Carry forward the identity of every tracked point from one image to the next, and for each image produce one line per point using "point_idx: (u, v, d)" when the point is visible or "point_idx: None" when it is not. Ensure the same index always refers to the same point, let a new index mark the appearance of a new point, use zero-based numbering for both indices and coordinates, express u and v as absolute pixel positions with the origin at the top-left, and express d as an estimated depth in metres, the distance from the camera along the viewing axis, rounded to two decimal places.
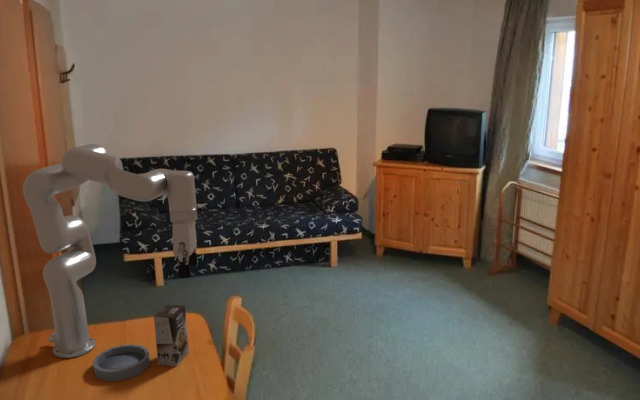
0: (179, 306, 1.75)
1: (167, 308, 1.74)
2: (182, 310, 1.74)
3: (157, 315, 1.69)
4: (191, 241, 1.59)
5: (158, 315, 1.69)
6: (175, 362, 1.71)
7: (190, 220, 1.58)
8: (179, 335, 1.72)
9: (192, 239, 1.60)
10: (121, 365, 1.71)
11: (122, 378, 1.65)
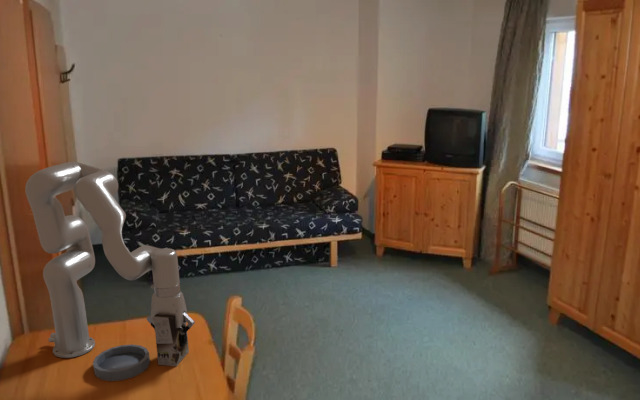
0: None
1: None
2: None
3: (157, 315, 1.69)
4: None
5: (158, 315, 1.69)
6: (175, 362, 1.71)
7: None
8: None
9: None
10: (121, 365, 1.71)
11: (122, 378, 1.65)
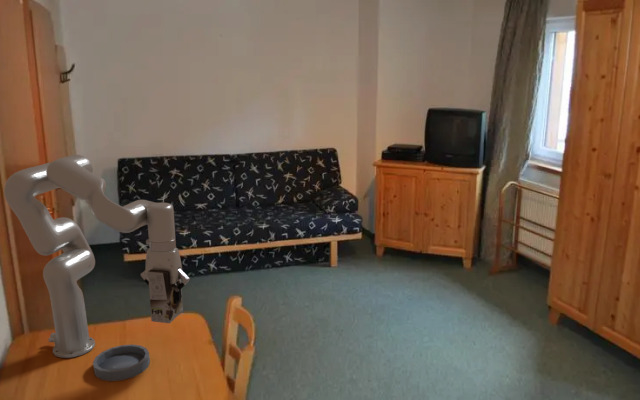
0: None
1: None
2: None
3: (151, 270, 1.66)
4: None
5: (152, 270, 1.66)
6: (169, 319, 1.68)
7: None
8: None
9: None
10: (121, 365, 1.71)
11: (122, 378, 1.65)
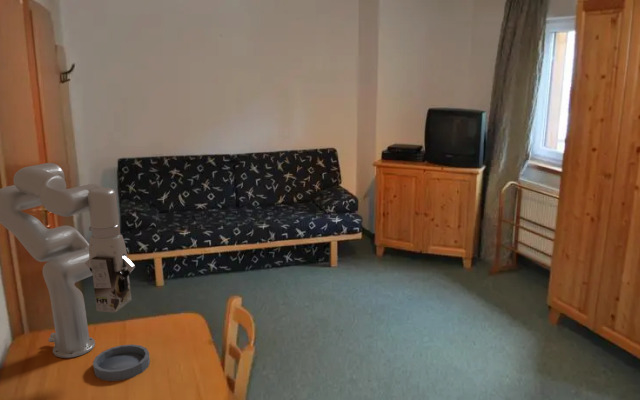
0: None
1: None
2: None
3: (94, 258, 1.60)
4: None
5: (96, 258, 1.60)
6: (114, 308, 1.62)
7: None
8: None
9: None
10: (121, 365, 1.71)
11: (122, 378, 1.65)
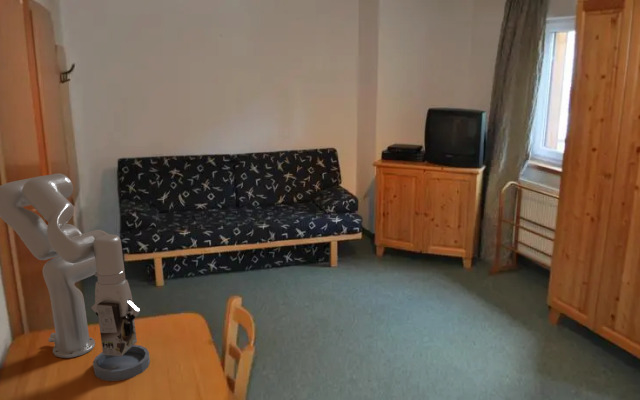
0: None
1: None
2: None
3: (100, 303, 1.64)
4: None
5: (101, 303, 1.64)
6: (120, 352, 1.65)
7: None
8: None
9: None
10: (121, 365, 1.71)
11: (122, 378, 1.65)
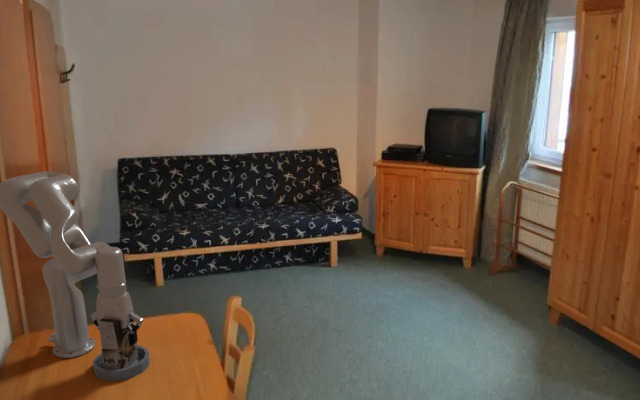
0: None
1: None
2: None
3: (102, 320, 1.65)
4: None
5: (103, 320, 1.65)
6: (121, 368, 1.67)
7: (126, 289, 1.68)
8: (125, 341, 1.68)
9: None
10: None
11: (122, 378, 1.65)
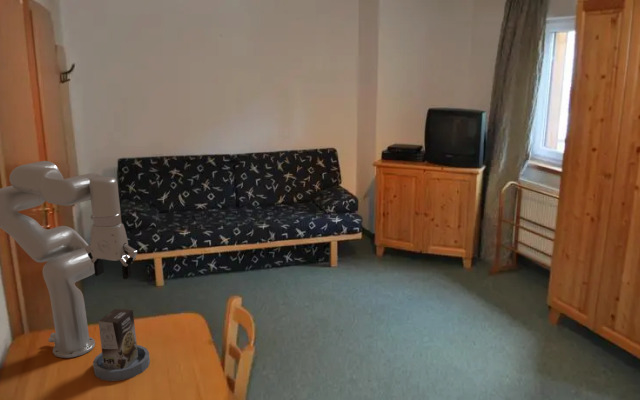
0: (127, 310, 1.71)
1: (114, 312, 1.70)
2: (129, 315, 1.70)
3: (102, 320, 1.65)
4: None
5: (103, 320, 1.65)
6: (121, 368, 1.67)
7: None
8: (125, 340, 1.68)
9: None
10: None
11: (122, 378, 1.65)
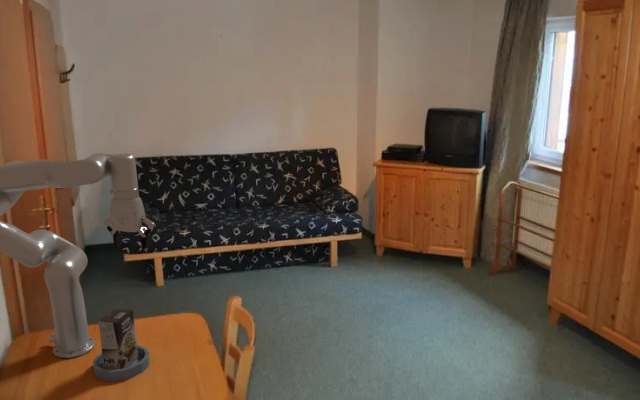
0: (127, 310, 1.71)
1: (114, 312, 1.70)
2: (129, 315, 1.70)
3: (102, 320, 1.65)
4: None
5: (103, 320, 1.65)
6: (121, 368, 1.67)
7: None
8: (125, 340, 1.68)
9: None
10: None
11: (122, 378, 1.65)
